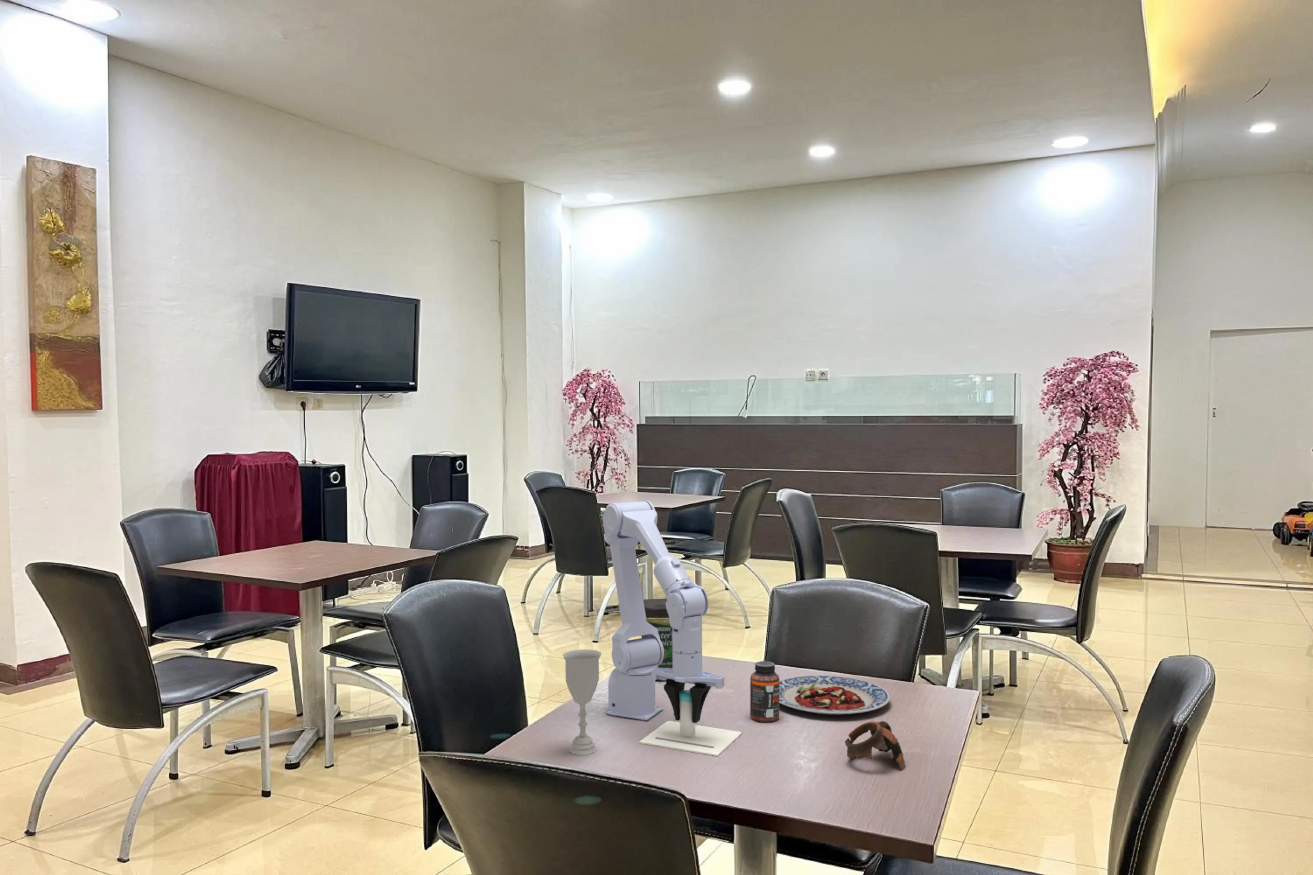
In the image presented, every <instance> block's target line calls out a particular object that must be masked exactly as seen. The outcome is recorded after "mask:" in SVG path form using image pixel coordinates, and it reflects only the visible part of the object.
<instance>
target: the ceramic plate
mask: <svg viewBox="0 0 1313 875" xmlns="http://www.w3.org/2000/svg"><path fill="white" fill-rule="evenodd" d="M890 700H891V695H890V693H889V692H888V691H887V690H886V689H885V688H884V687H882V686H880V685H878V684H875V683H872V682H870V681H865V680H863V679H857V678H852V677H845V676H838V675H802V676H795V677H790V678H789V677H788V678H786V679H782V680H779V705H780V704H781V705H783V706H784V707H785V706H786V707H789V708H792V709H795V710H798V711H802V712H803V711H804V712H808V713H813V714H819V715H829V716H830V715H832V716H833V715H834V716H835V715H836V716H837V715H841V716H842V715H851V714H860V713H866V712H871V711H875V710H878V709H880V708H882V707H885V706H886V705H887V704H888V703H889V702H890Z"/></svg>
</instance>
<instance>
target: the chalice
mask: <svg viewBox="0 0 1313 875" xmlns="http://www.w3.org/2000/svg"><path fill="white" fill-rule="evenodd" d="M562 656H563V659H564V661H565V682H566V686H567V689H568V691H569V693H570V695H571V697H572V700H573V701H574V703H576V704H578V705H579V712H578V714H577V715H578V716H579V722H578V724H577V726H578V727H579V734H578V735H577V736H576V737H574V738H573V739H572V743H571V745H570V748H569V753H571V754H573V755H577V756H586V755H587V756H588V755H591V754H594V753H595V752H597V748H596V746H595V743H594V739H593V738H592V737H591V736H589V735H588V733H586V728H587V725H588V722H587V721H586V717H587V715H588V713H587V711H586V704H589V703H590V702H591V700H592V698H593V697H594V694H595V692H596V690H597V686H598V684H599V681H600V658H601V656H602V651H599V650H597V649H596V650H594V649H586V648H585V649H574V650H569V651H565V652H564V653H562Z"/></svg>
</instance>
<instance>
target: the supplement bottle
mask: <svg viewBox="0 0 1313 875" xmlns="http://www.w3.org/2000/svg"><path fill="white" fill-rule="evenodd" d="M754 670H755V671H754V672H752V673H751V674H750V679H749V680H750V683H749V685H750V686H749V687H750V688H749V689H750V690H749V693H750V695H749V699H750V700H749V703H750V704H749V706H750V707H749V713H750V717H751V719H752V720H754V721H758V722H764V723H771V722H775V721H777V720H779V718H780V703H779V681H780V675H779V674H778V673H777V672H775V670H776V666H775V662H772V661H767V660H765V661H763V660H762V661H756V662H755V664H754Z"/></svg>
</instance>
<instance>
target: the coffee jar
mask: <svg viewBox="0 0 1313 875" xmlns="http://www.w3.org/2000/svg"><path fill="white" fill-rule="evenodd" d="M643 602H644V608H645V615H646V621H647V622H648V623H649V624H651V625H652V626H653V627H655V628H656V629H657V630H658V634H659V638H660V640H661V642H662V645H663V648H664V657H663V661H662V663H661V664H660V665H658V668H673V642H672V627H671V626H670V619H669V614H668V612H667V609H666V602H667V598H649V599H646V598H643ZM641 638H644V637H642V636H641ZM657 680H660V679H657ZM660 681H661V680H660Z"/></svg>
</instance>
